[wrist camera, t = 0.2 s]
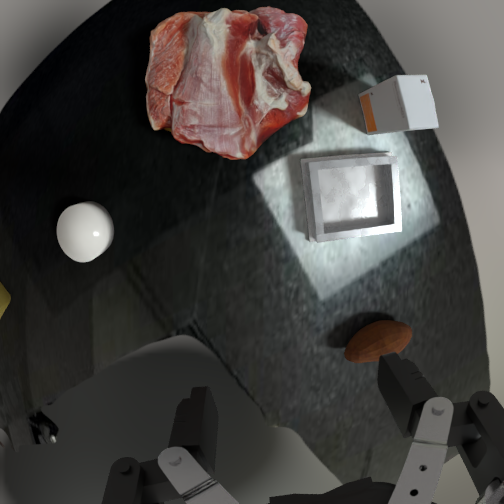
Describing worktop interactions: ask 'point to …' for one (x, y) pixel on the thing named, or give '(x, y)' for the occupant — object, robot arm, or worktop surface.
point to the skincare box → (399, 105)
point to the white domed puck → (85, 231)
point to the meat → (226, 77)
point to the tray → (351, 195)
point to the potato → (378, 341)
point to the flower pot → (3, 299)
